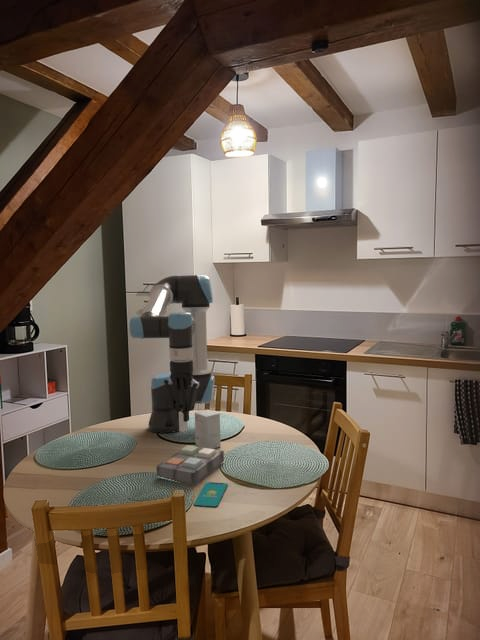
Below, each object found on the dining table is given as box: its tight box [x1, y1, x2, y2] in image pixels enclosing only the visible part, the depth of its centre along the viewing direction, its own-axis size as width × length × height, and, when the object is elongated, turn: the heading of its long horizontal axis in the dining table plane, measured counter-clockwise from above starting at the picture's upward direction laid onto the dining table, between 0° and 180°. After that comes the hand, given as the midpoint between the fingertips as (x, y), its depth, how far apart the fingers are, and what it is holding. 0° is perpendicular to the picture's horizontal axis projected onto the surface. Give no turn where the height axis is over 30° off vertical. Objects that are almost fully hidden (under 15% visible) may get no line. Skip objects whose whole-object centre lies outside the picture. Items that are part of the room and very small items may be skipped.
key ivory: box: [198, 448, 216, 459], centre depth 164 cm, size 4×4×3 cm
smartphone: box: [193, 481, 229, 508], centre depth 144 cm, size 7×1×15 cm
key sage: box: [180, 444, 199, 456], centre depth 167 cm, size 4×4×3 cm
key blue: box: [183, 457, 202, 469], centre depth 156 cm, size 4×4×3 cm
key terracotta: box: [166, 457, 185, 466], centre depth 158 cm, size 4×4×3 cm
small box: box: [194, 408, 222, 449], centre depth 183 cm, size 8×6×13 cm
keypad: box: [156, 446, 225, 487], centre depth 161 cm, size 14×20×4 cm
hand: (183, 430), depth 159 cm, fingers closed
